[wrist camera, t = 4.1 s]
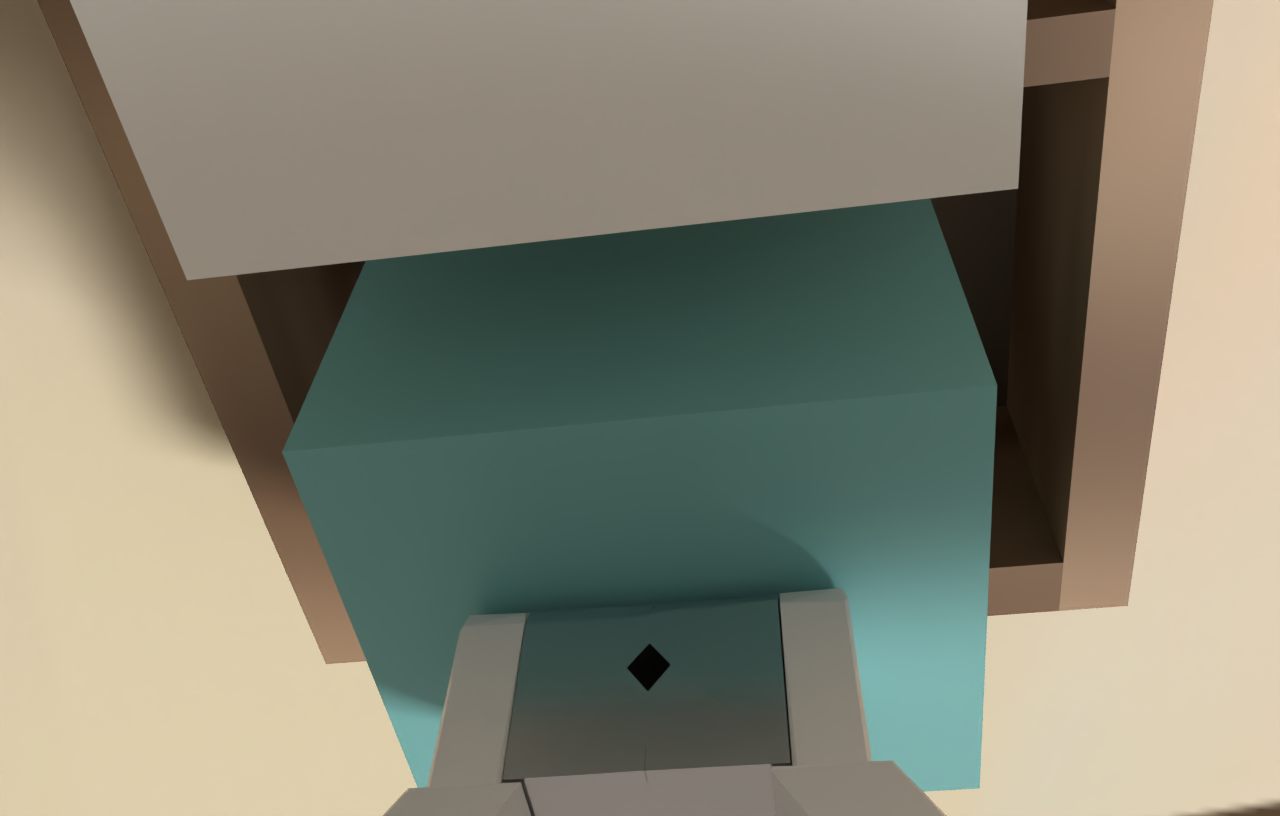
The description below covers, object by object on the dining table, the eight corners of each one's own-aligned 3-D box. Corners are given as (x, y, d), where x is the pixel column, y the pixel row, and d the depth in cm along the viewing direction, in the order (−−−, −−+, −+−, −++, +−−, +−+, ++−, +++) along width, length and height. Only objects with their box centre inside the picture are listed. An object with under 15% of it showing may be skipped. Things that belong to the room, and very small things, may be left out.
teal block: (394, 198, 12) (281, 451, 9) (908, 138, 11) (997, 384, 8) (489, 529, 14) (430, 820, 11) (911, 493, 14) (979, 787, 11)
